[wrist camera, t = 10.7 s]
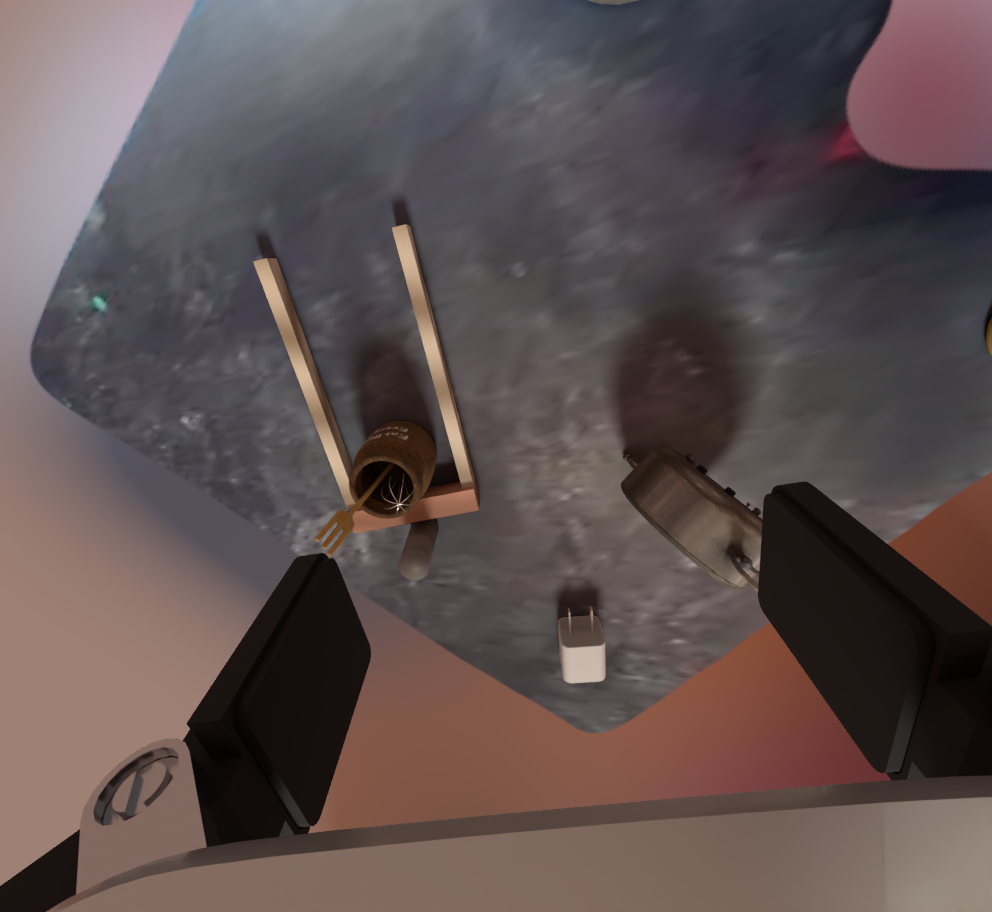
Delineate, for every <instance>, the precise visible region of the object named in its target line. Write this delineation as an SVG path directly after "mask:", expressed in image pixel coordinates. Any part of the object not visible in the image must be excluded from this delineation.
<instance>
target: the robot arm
mask: <svg viewBox="0 0 992 912" xmlns="http://www.w3.org/2000/svg"><path fill="white" fill-rule="evenodd" d="M588 1H591V2H595V3H598V4H619V5H620V4H624V3H629V2H634V1H638V0H588ZM758 599H759V603H760V606H761V608H762V610H763V612H764V614H765V615H766V617H767V618H768V619H769V621H770V622H771V624H772V625H773V627H774V628H775V629H776V631H777V632H778V634H779V635H780V637H781V638H782V639H783V641H784V642H785V643H786V645H787V647H788V648H789V649H790V651H791V652H792V654H793V655H794V656H795V658H796V659H797V661H798V662H799V664H800V665H801V666H802V668H803V669H804V671H805V672H806V674H807V675H808V676H809V678H810V679H811V680H812V682H813V683H814V685H815V686H816V688H817V689H818V691H819V692H820V693H821V695H822V696H823V698H824V699H825V701H826V702H827V703H828V705H829V706H830V708H831V709H832V711H833V712H834V713H835V715H836V716H837V718H838V719H839V721H840V722H841V723H842V725H843V726H844V728H845V729H846V730H847V732H848V733H849V735H850V736H851V738H852V739H853V740H854V741H855V743H856V744H857V746H858V747H859V749H860V750H861V752H862V753H863V755H864V756H865V758H866V759H867V760H868V762H869V763H870V764H871V766H872V767H873V768H874V769H875V770H876V771H878V772H880V773H887V775H888V776H889V777H890V779H891V780H892V781H880V782H866V783H850V784H836V785H825V786H813V787H802V788H790V789H778V790H766V791H756V792H744V793H732V794H721V795H708V796H697V797H685V798H673V799H663V800H651V801H640V802H630V803H619V804H608V805H597V806H585V807H574V808H564V809H553V810H542V811H531V812H520V813H510V814H499V815H488V816H477V817H467V818H457V819H447V820H437V821H426V822H416V823H407V824H396V825H386V826H375V827H366V828H355V829H345V830H334V831H325V832H317V833H308V832H309V829H310V826H314V825H315V824H316V823H317V822H318V820H319V818H320V816H321V813H322V810H323V807H324V804H325V801H326V797H327V794H328V791H329V788H330V785H331V782H332V779H333V776H334V773H335V769H336V766H337V763H338V760H339V757H340V754H341V750H342V747H343V744H344V741H345V738H346V734H347V732H348V729H349V725H350V722H351V719H352V716H353V713H354V709H355V707H356V703H357V700H358V697H359V694H360V691H361V687H362V684H363V682H364V678H365V675H366V672H367V669H368V666H369V663H370V658H371V650H370V645H369V642H368V639H367V637H366V634H365V632H364V629H363V627H362V625H361V622H360V620H359V617H358V615H357V612H356V609H355V607H354V605H353V602H352V600H351V597H350V595H349V592H348V590H347V587H346V585H345V582H344V580H343V577H342V575H341V572H340V570H339V567H338V565H337V563H336V561H335V560H334V559H332V558H330V559H329V558H328V556H327V555H326V554H324V553H319V554H313V555H306V556H300V557H297V558H296V559H295V560H294V561H293V563H292V564H291V566H290V567H289V569H288V571H287V572H286V574H285V575H284V577H283V578H282V580H281V581H280V583H279V584H278V586H277V587H276V589H275V590H274V592H273V593H272V595H271V596H270V598H269V599H268V601H267V602H266V604H265V605H264V607H263V608H262V610H261V611H260V613H259V614H258V616H257V618H256V619H255V621H254V622H253V624H252V625H251V627H250V628H249V630H248V631H247V633H246V634H245V636H244V637H243V639H242V640H241V642H240V643H239V645H238V646H237V648H236V649H235V651H234V652H233V654H232V655H231V657H230V659H229V660H228V662H227V663H226V665H225V666H224V668H223V669H222V671H221V672H220V674H219V675H218V677H217V678H216V680H215V681H214V683H213V684H212V686H211V687H210V689H209V690H208V692H207V693H206V695H205V696H204V698H203V699H202V701H201V703H200V704H199V706H198V707H197V709H196V710H195V712H194V713H193V715H192V716H191V718H190V719H189V721H188V722H187V725H188V726H189V728H190V730H189V732H188V734H187V735H186V737H185V738H184V740H183V741H181V740H179V739H164V740H160V741H157V742H154V743H151V744H149V745H147V746H145V747H143V748H141V749H139V750H138V751H136V752H134V753H133V754H132V755H130V756H129V757H128V758H126V759H125V760H123V761H122V762H121V763H119V764H118V765H117V766H116V767H115V768H114V769H113V770H112V771H111V772H110V773H109V774H108V775H106V777H105V778H104V779H103V780H102V781H101V783H100V784H99V785H98V786H97V788H96V789H95V790H94V791H93V793H92V794H91V796H90V798H89V800H88V801H87V803H86V805H85V807H84V810H83V814H82V818H81V824H80V830H78V831H77V832H75V833H74V834H73V835H71V836H70V837H69V838H67V839H66V840H64V841H63V842H61V843H60V844H59V845H57V846H56V847H54V848H53V849H52V850H50V851H49V852H47V853H46V854H45V855H43V856H42V857H41V858H39V859H38V860H36V861H35V862H33V863H32V864H31V865H29V866H28V867H26V868H25V869H24V870H22V871H21V872H19V873H18V874H17V875H15V876H14V877H12V878H11V879H10V880H8V881H7V882H5V883H4V884H3V885H1V886H0V912H992V626H991V625H989V624H988V623H987V622H986V621H984V620H983V619H982V618H981V617H979V616H978V615H977V614H975V613H974V612H973V611H972V610H970V609H969V608H968V607H967V606H965V605H964V604H963V603H961V602H960V601H959V600H958V599H956V598H955V597H954V596H953V595H951V594H950V593H949V592H947V591H946V590H945V589H944V588H942V587H941V586H940V585H938V584H937V583H936V582H935V581H934V580H932V579H931V578H930V577H928V576H927V575H926V574H925V573H923V572H922V571H921V570H920V569H918V568H917V567H916V566H914V565H913V564H912V563H911V562H909V561H908V560H907V559H905V558H904V557H903V556H902V555H900V554H899V553H898V552H897V551H895V550H894V549H893V548H892V547H890V546H889V545H888V544H886V543H885V542H884V541H883V540H881V539H880V538H879V537H878V536H876V535H875V534H874V533H873V532H871V531H870V530H869V529H867V528H866V527H865V526H864V525H862V524H861V523H860V522H859V521H857V520H856V519H855V518H853V517H852V516H851V515H850V514H848V513H847V512H846V511H845V510H843V509H842V508H841V507H839V506H838V505H837V504H836V503H834V502H833V501H832V500H831V499H829V498H828V497H827V496H825V495H824V494H823V493H822V492H820V491H819V490H818V489H817V488H815V487H814V486H813V485H812V484H810V483H808V482H798V483H791V484H785V485H778V486H775V487H774V488H773V490H772V493H771V494H767V495H766V496H765V498H764V506H763V521H762V537H761V553H760V569H759V585H758Z"/></svg>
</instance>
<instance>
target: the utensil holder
mask: <svg viewBox="0 0 992 912" xmlns="http://www.w3.org/2000/svg"><path fill="white" fill-rule="evenodd" d="M436 460H437V453H436V447H435V444H434V442H433V440H432V438H431V437H430V435H429V434H428V433H427V432H426V431H425V430H424V429H423V428H421V427H420V426H418V425H416V424H414V423H411V422H408V421H391V422H388V423H385V424H383V425H381V426H380V427H378V428H377V429H376V430H375V431H374V432H373V433H372V434H371V435H370V436H369V437H368V439H367V440H366V441H365V443H364V444H363V445H362V447H361V448H360V450H359V451H358V453H357V455H356V457H355V460H354V464H353V468H352V470H351V474H350V478H349V490H350V493H351V496H352V498H353V500H354V502H355V503H356V504H355V505H354V506H353V508H352V509H351V510H350V511H349V512H346V511H344V510H340V511H338V512H337V513H336V514H335V515H334V516H333V518H332V519H331V520H330V521H329V522H328V523H327V525H326V526H325V527H324V528H323V529H322V530H321V532H320V533H319V534H318V535H317V536H316V537H315V540H316V541H320V539H321V538H322V537H323V536H324V535H325V534H326V533H327V531H328V530H329V529H330V528H331V527H332V526H333V525H334V523H335V522H337V523H338V525H337V527H336V528H335V529H334V530H333V532H332V533H331V534H330V535H329V536H328V538H327V539H326V540H325V541H324V543H323V544H322V545H321V547H322V548H323V549H325V548H326V547H327V546H328V544H329V543H330V542H331V541H332V540H333V539H334V537H335V536H336V535H337V534H338V533H339V531H340V530H341V529H343V533H342V535H341V536H340V537H339V538H338V540H337V541H336V542H335V543H334V545H333V546H332V547H331V549H330V550H329V551H328V555H329V556H331V555H332V554H333V553H334V552H335V550H336V549H337V548H338V547H339V545H340V544H341V543H342V542H343V541H344V539H345V538H346V537H347V536H348V534H349V533H350V532H351V531H352V529H353V528H354V522H353V518H352V517H353V515H354V513H355V512H356V511H357V510H358V509H359V507H360V508H361V509H362V510H363V511H364V512H366V513H368V514H370V515H372V516H374V517H378V518H383V519H392V518H397V517H400V516H403V515H405V514H406V513H409V511H410V510H412V509H413V507H414V506H415V505H416V504H417V503H418V501H419V499H420V498H421V497H422V496H423V495H424V493H425V492H426V490H427V489H428V487H429V484H430V482H431V479H432V476H433V473H434V469H435V465H436Z"/></svg>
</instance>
